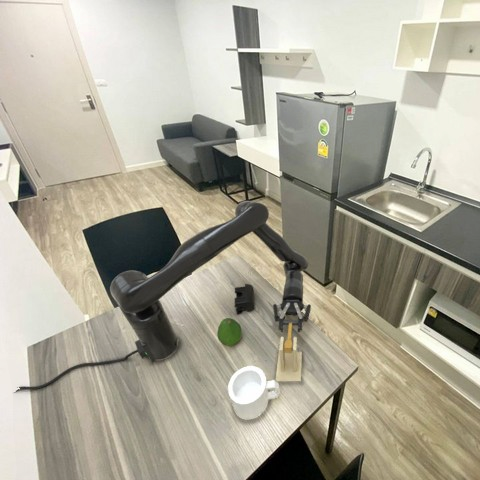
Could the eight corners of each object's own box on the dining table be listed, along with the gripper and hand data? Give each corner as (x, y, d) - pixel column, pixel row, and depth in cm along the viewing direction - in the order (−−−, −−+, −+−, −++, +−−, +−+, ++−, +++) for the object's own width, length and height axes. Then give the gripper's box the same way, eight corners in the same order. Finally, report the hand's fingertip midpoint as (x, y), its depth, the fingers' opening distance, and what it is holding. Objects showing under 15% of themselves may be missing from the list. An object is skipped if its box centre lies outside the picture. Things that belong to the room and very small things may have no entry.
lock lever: (283, 323, 90) (283, 318, 89) (298, 323, 91) (298, 318, 90) (279, 353, 80) (279, 347, 78) (296, 353, 80) (296, 347, 79)
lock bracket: (278, 353, 91) (276, 328, 83) (302, 353, 92) (302, 329, 84) (275, 382, 83) (272, 359, 75) (300, 382, 84) (300, 359, 75)
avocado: (226, 355, 90) (220, 334, 83) (216, 339, 94) (209, 318, 87) (247, 342, 94) (243, 321, 87) (237, 327, 99) (232, 306, 92)
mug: (278, 378, 84) (276, 360, 78) (281, 413, 76) (280, 396, 70) (234, 387, 81) (228, 369, 75) (233, 425, 73) (226, 408, 67)
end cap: (255, 312, 105) (253, 300, 101) (236, 315, 103) (234, 303, 99) (254, 293, 113) (252, 282, 109) (236, 296, 111) (234, 285, 107)
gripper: (273, 285, 99) (267, 323, 85) (312, 286, 99) (312, 323, 85) (275, 299, 103) (269, 337, 89) (311, 299, 104) (311, 337, 90)
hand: (290, 330), depth 87 cm, fingers closed on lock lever, 5 cm apart
